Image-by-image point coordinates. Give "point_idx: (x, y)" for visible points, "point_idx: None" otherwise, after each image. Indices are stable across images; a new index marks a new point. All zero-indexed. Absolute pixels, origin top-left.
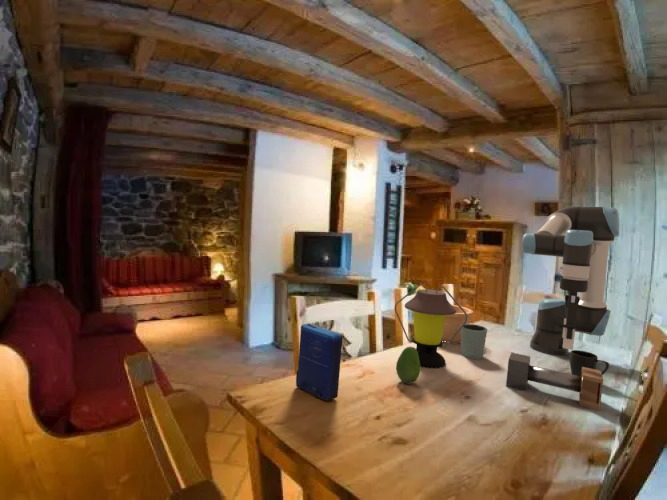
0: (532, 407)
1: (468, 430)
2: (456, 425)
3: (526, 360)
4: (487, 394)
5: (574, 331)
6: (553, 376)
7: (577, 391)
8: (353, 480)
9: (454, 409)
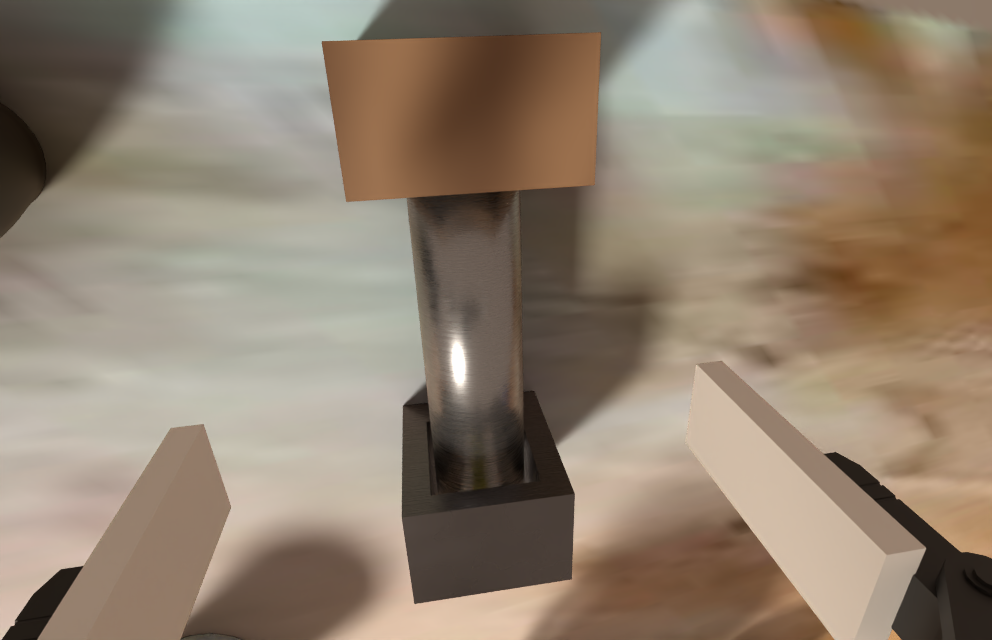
0: (709, 336)
1: (987, 448)
2: (967, 480)
3: (521, 514)
4: (677, 488)
5: (891, 519)
6: (517, 337)
7: None
8: None
9: None
